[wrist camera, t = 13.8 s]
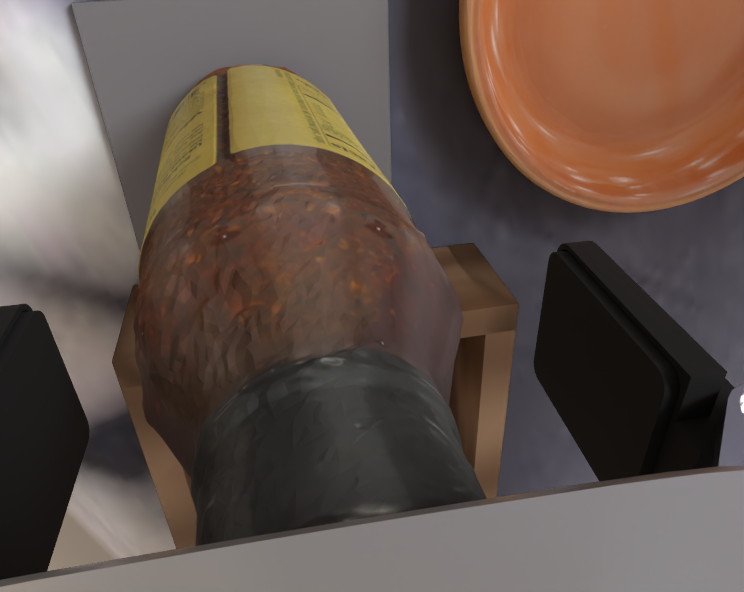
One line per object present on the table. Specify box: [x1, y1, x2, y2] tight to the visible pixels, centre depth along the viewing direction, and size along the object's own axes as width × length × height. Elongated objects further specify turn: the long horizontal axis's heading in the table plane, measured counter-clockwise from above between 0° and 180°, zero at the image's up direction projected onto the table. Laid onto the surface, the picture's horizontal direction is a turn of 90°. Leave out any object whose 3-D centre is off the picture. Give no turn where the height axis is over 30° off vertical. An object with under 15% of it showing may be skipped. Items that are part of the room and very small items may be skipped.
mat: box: [71, 0, 391, 252], centre depth 22 cm, size 10×10×1 cm
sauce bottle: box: [133, 64, 487, 546], centre depth 13 cm, size 7×6×20 cm
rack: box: [112, 243, 519, 549], centre depth 28 cm, size 18×14×5 cm
